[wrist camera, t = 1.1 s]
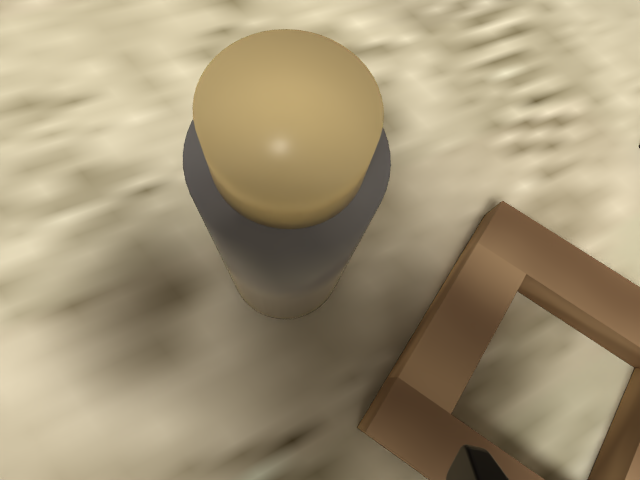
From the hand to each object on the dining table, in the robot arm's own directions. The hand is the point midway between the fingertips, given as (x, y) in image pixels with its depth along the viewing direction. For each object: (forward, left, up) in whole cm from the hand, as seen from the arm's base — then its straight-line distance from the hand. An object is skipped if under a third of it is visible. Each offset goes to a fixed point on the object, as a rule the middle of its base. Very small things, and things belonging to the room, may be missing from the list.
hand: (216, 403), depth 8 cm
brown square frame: (-5, -12, -12) cm, 17 cm away
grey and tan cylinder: (+5, -4, -12) cm, 13 cm away
